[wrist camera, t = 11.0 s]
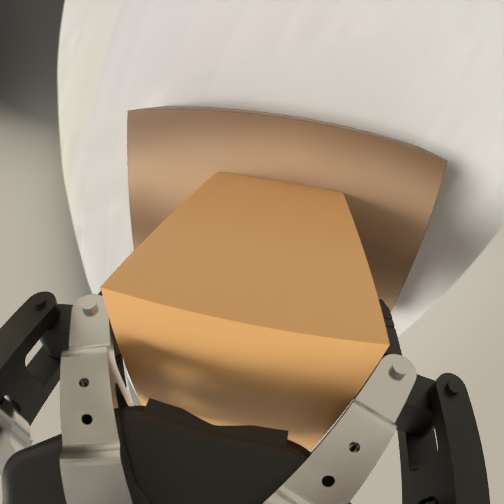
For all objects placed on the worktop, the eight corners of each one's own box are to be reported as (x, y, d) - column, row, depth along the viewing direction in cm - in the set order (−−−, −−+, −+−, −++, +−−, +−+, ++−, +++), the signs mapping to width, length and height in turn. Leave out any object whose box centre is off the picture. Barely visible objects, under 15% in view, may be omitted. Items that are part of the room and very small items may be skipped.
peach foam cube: (216, 172, 13) (100, 287, 5) (342, 192, 13) (389, 344, 5) (211, 312, 18) (159, 440, 10) (304, 330, 17) (292, 469, 9)
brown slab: (162, 106, 16) (40, 129, 7) (418, 146, 14) (520, 206, 6) (164, 265, 22) (96, 360, 13) (367, 303, 20) (386, 419, 12)
